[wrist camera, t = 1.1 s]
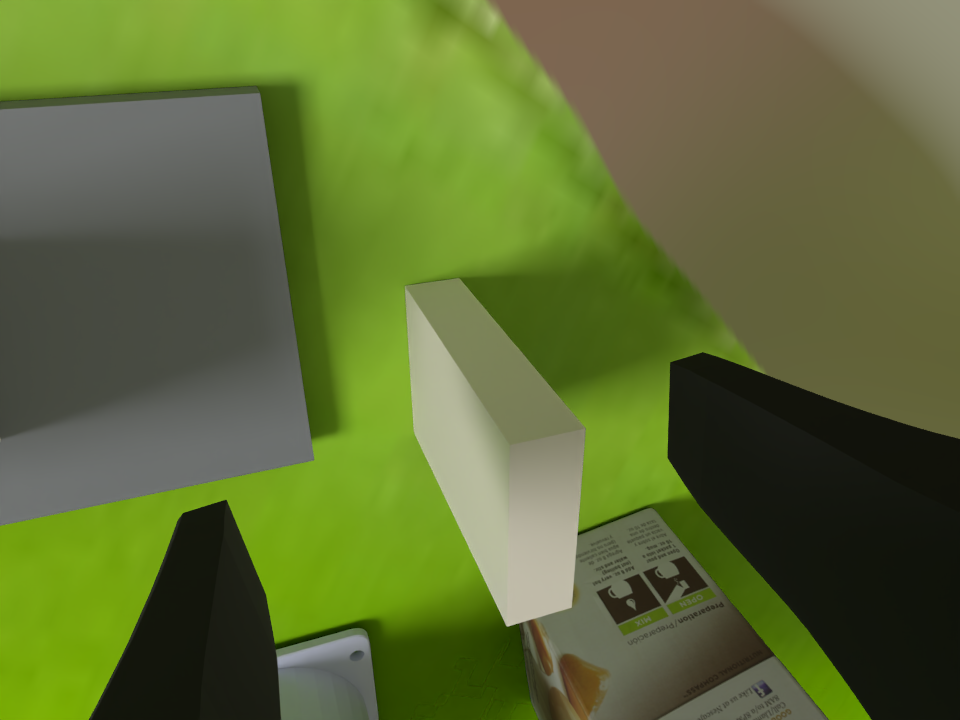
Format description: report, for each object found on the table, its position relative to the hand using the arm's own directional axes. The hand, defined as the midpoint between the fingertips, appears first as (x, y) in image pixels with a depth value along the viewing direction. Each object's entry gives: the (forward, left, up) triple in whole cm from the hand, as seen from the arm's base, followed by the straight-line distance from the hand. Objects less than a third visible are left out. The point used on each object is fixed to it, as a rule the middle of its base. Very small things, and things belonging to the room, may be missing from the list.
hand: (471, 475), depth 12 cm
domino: (-4, -2, -10) cm, 11 cm away
